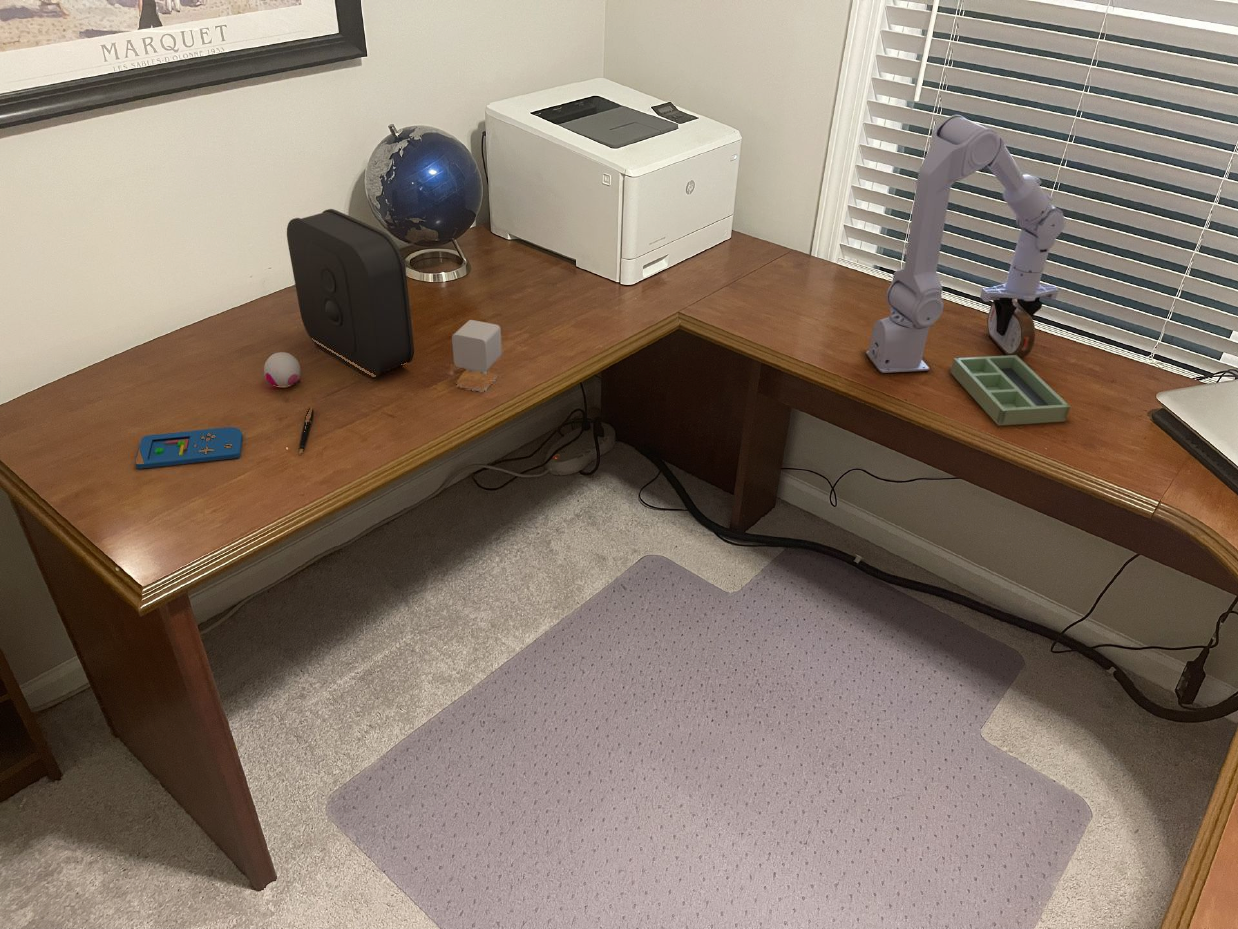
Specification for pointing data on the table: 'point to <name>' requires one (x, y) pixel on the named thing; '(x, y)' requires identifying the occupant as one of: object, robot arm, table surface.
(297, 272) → the speaker
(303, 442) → the fountain pen
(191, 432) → the handheld gaming device
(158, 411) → the table surface
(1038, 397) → the organizer
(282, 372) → the stress ball
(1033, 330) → the tin
